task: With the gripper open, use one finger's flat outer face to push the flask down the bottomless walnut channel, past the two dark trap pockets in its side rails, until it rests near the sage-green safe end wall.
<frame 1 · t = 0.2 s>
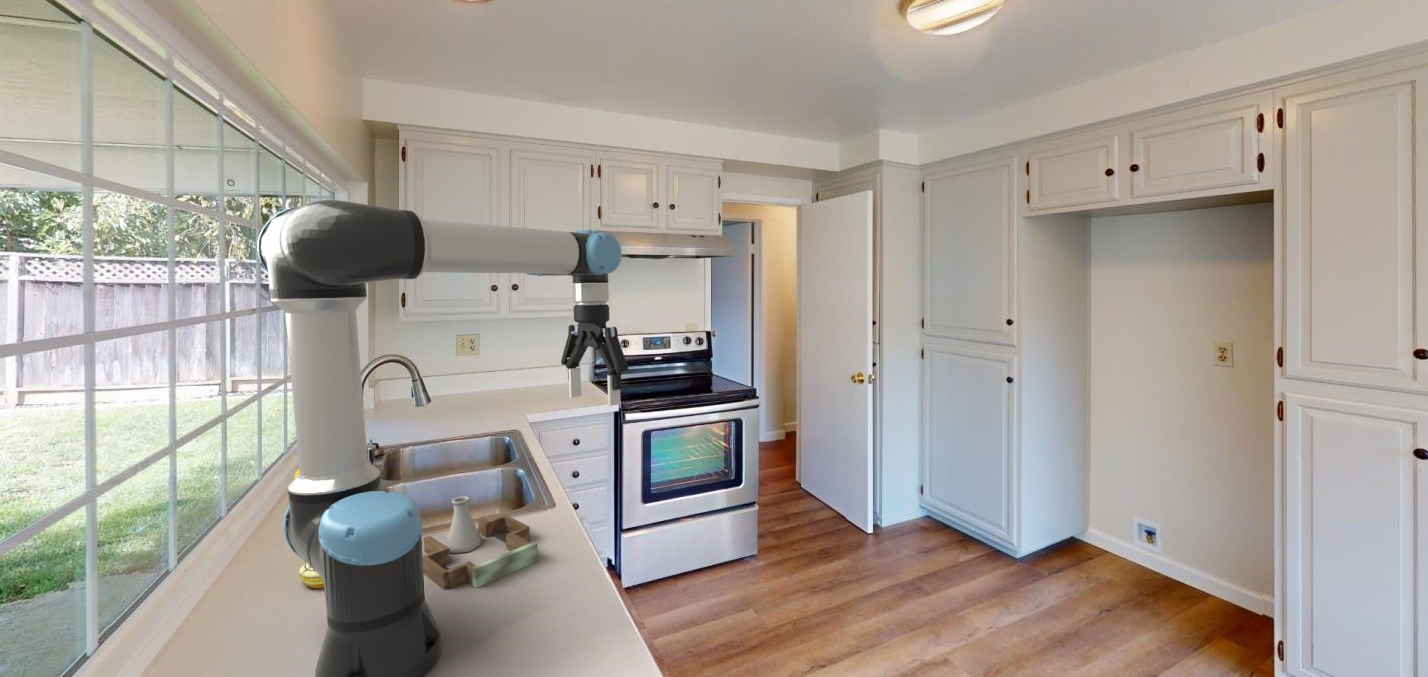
hand: (594, 400, 121), 28 cm above the counter, fingers open, 13 cm apart
decorated donut: (336, 577, 103), on the counter
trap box: (480, 556, 109), on the counter
flask: (463, 547, 114), on the counter
alarm clock: (326, 551, 112), on the counter
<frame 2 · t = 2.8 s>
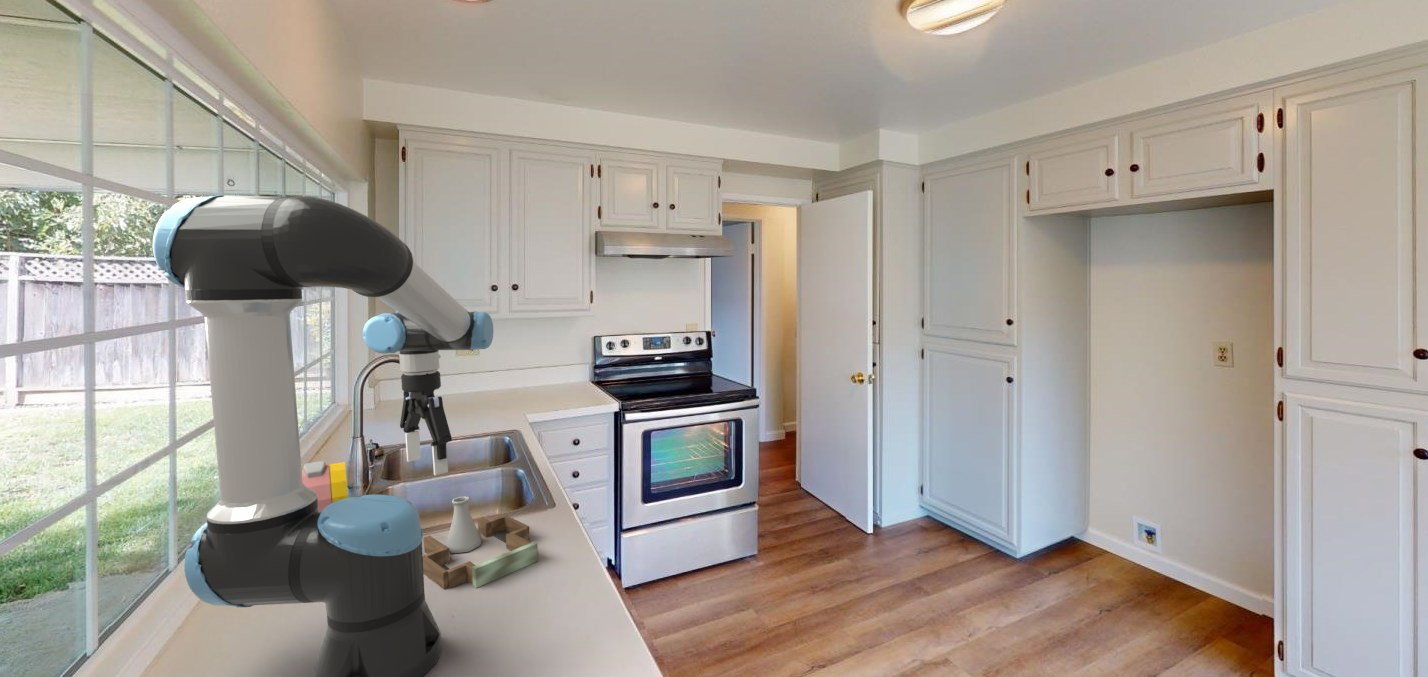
hand: (427, 466, 123), 13 cm above the counter, fingers open, 13 cm apart
nothing on the counter moved.
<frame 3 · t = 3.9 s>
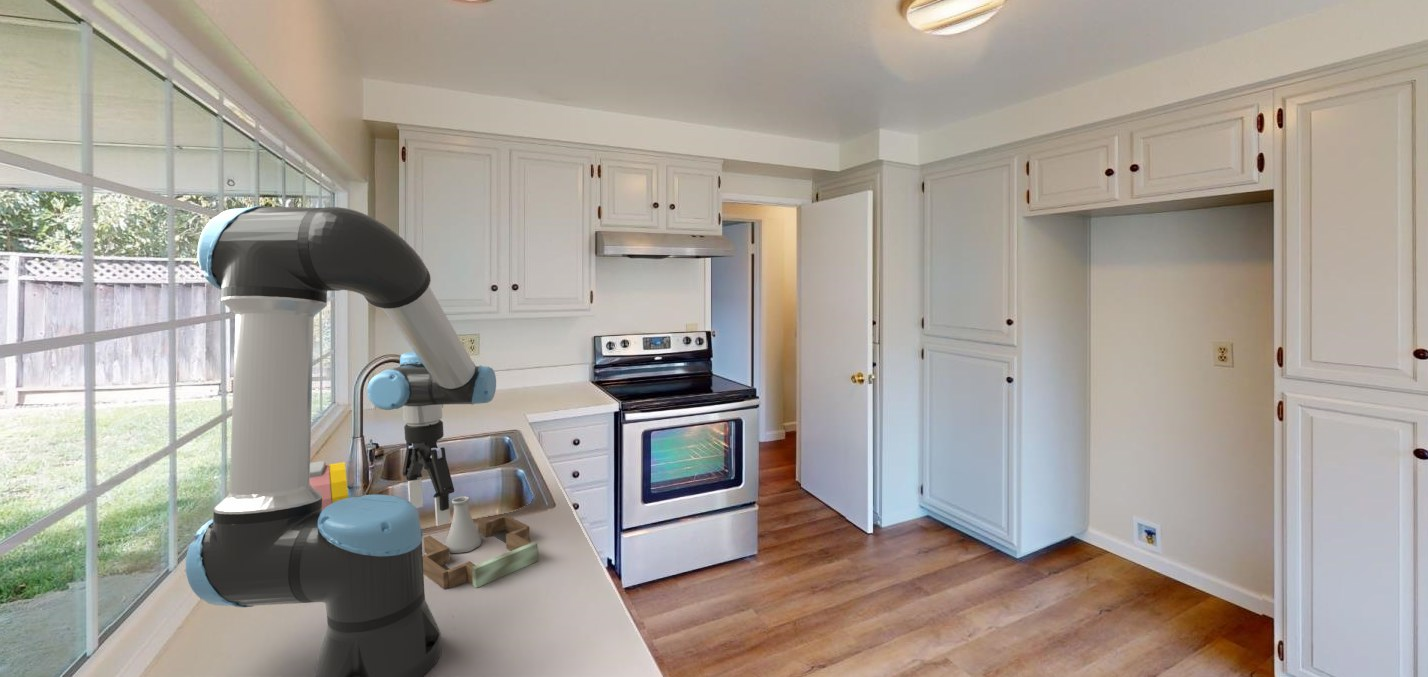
hand: (429, 515, 123), 2 cm above the counter, fingers open, 13 cm apart
nothing on the counter moved.
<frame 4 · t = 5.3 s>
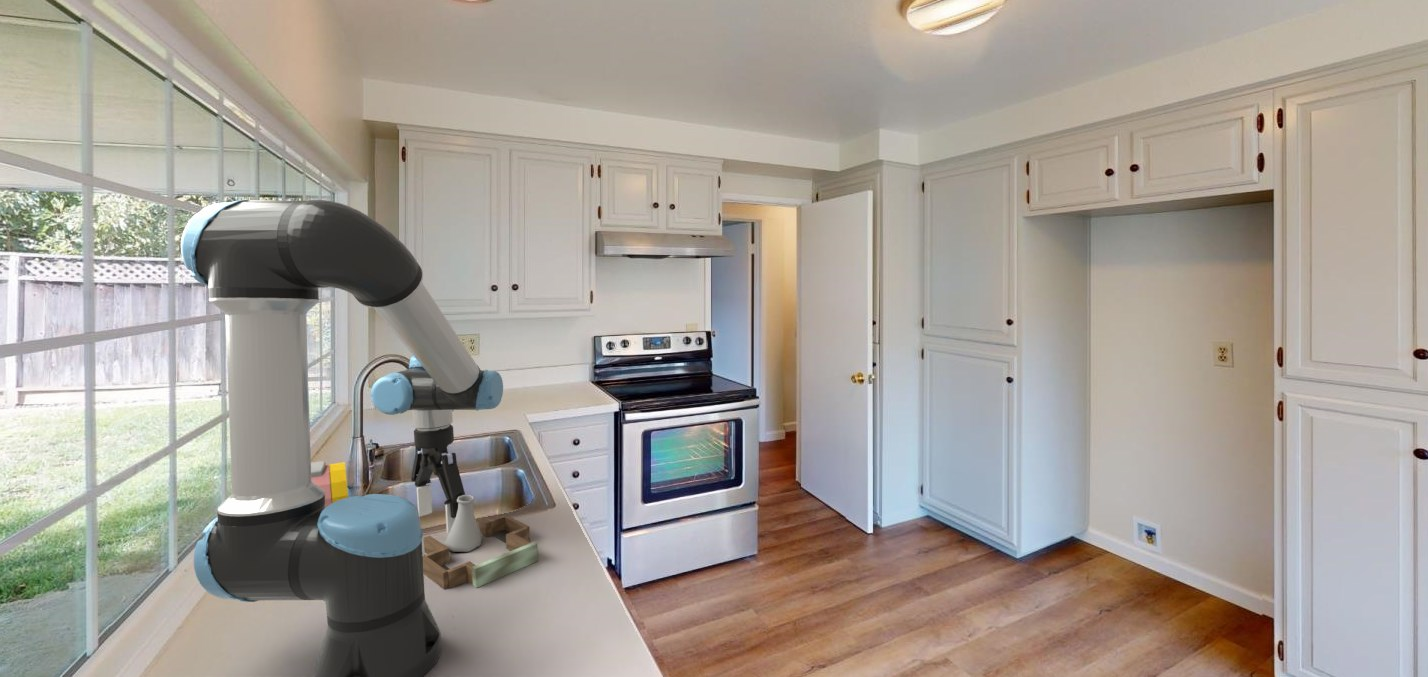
hand: (439, 522, 120), 2 cm above the counter, fingers open, 13 cm apart
flask: (463, 544, 114), on the counter, touching gripper, hand
everything else where it was.
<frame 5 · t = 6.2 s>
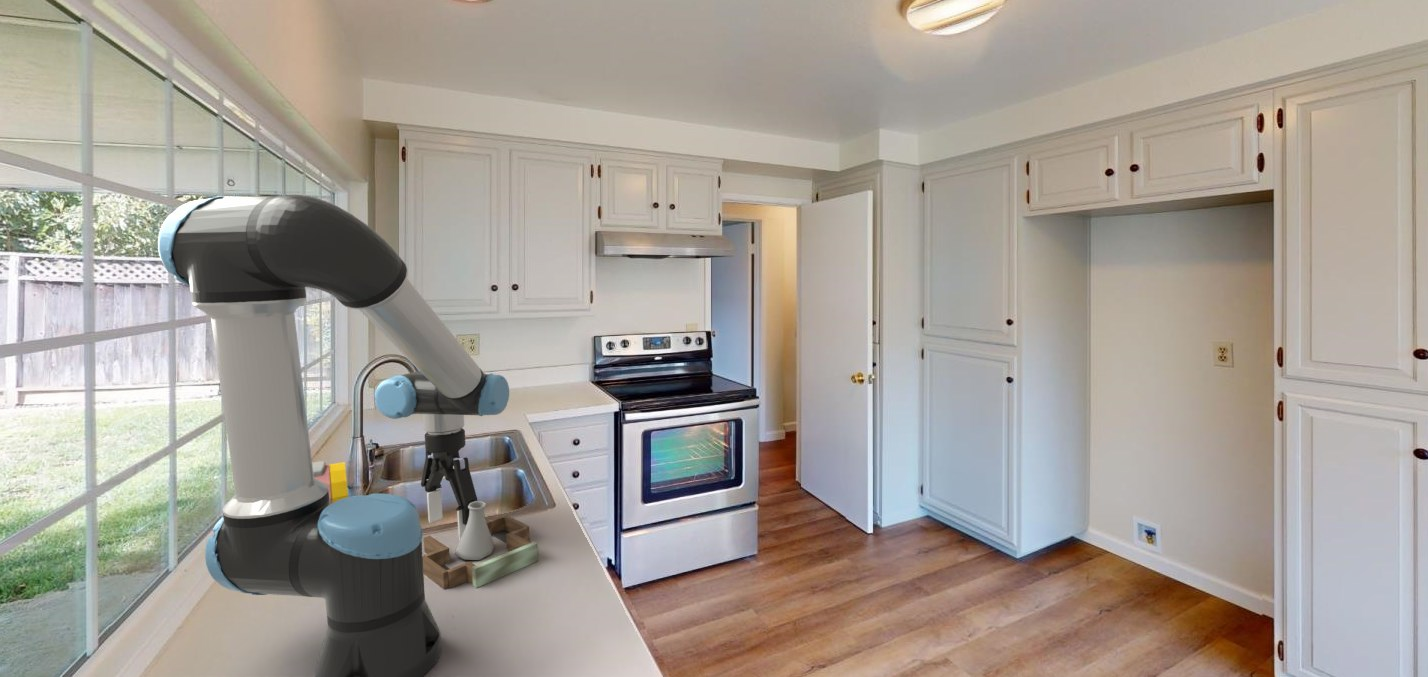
hand: (450, 529, 117), 2 cm above the counter, fingers open, 13 cm apart
flask: (474, 552, 110), on the counter, touching gripper
everything else where it was.
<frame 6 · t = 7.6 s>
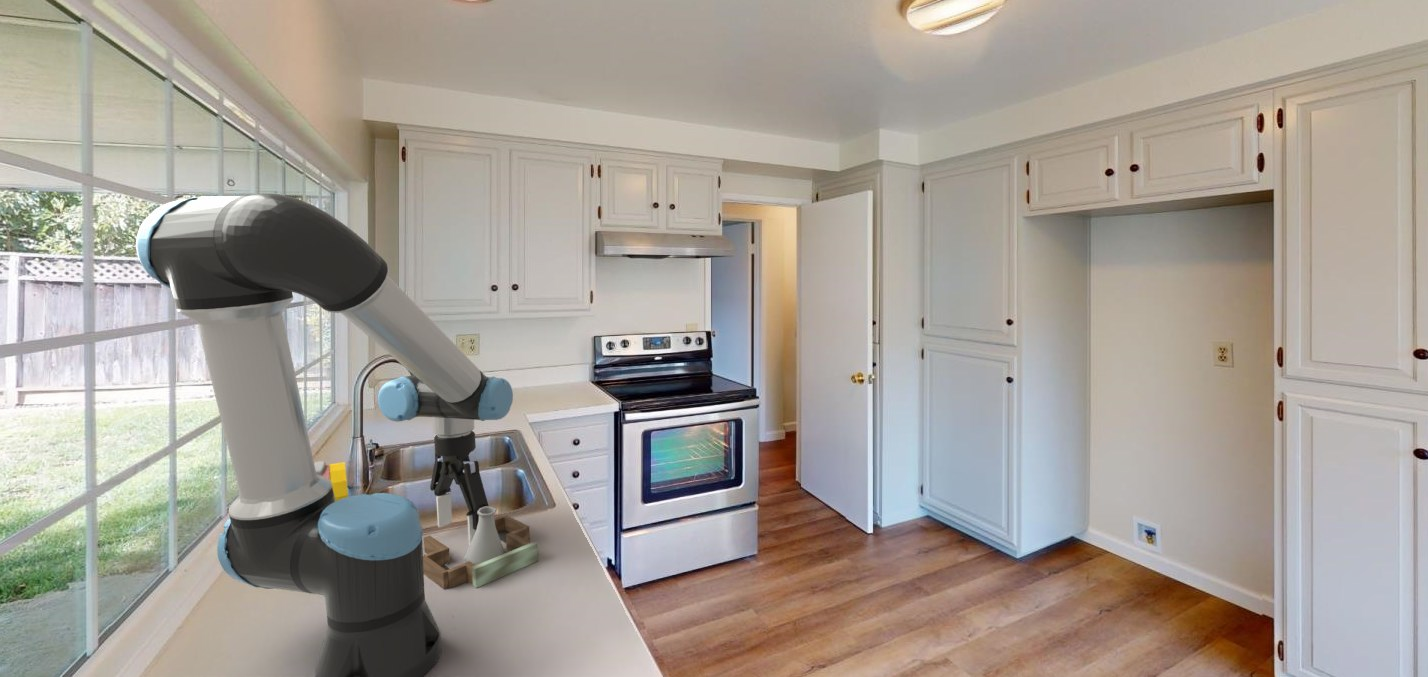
hand: (460, 533, 114), 2 cm above the counter, fingers open, 13 cm apart
flask: (484, 558, 108), on the counter, touching gripper
everything else where it was.
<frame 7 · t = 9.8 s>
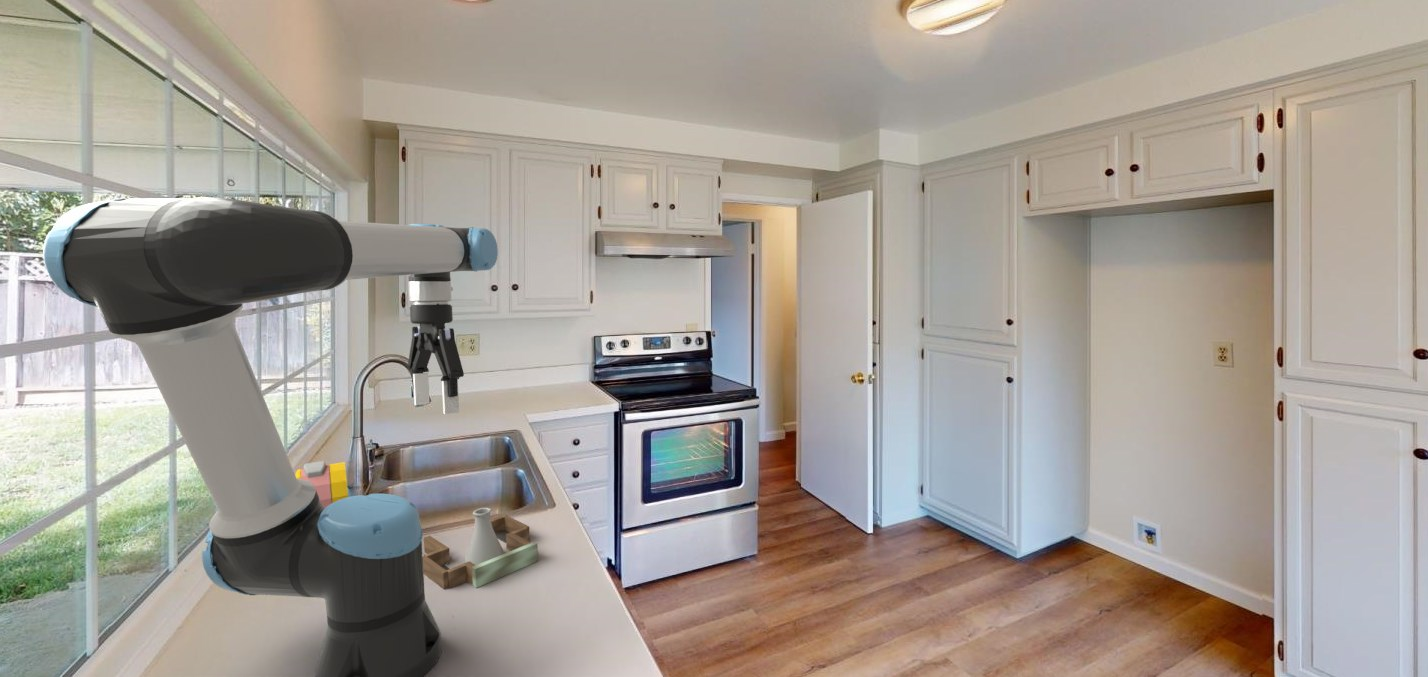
hand: (436, 408, 112), 28 cm above the counter, fingers open, 13 cm apart
flask: (484, 561, 108), on the counter
everything else where it was.
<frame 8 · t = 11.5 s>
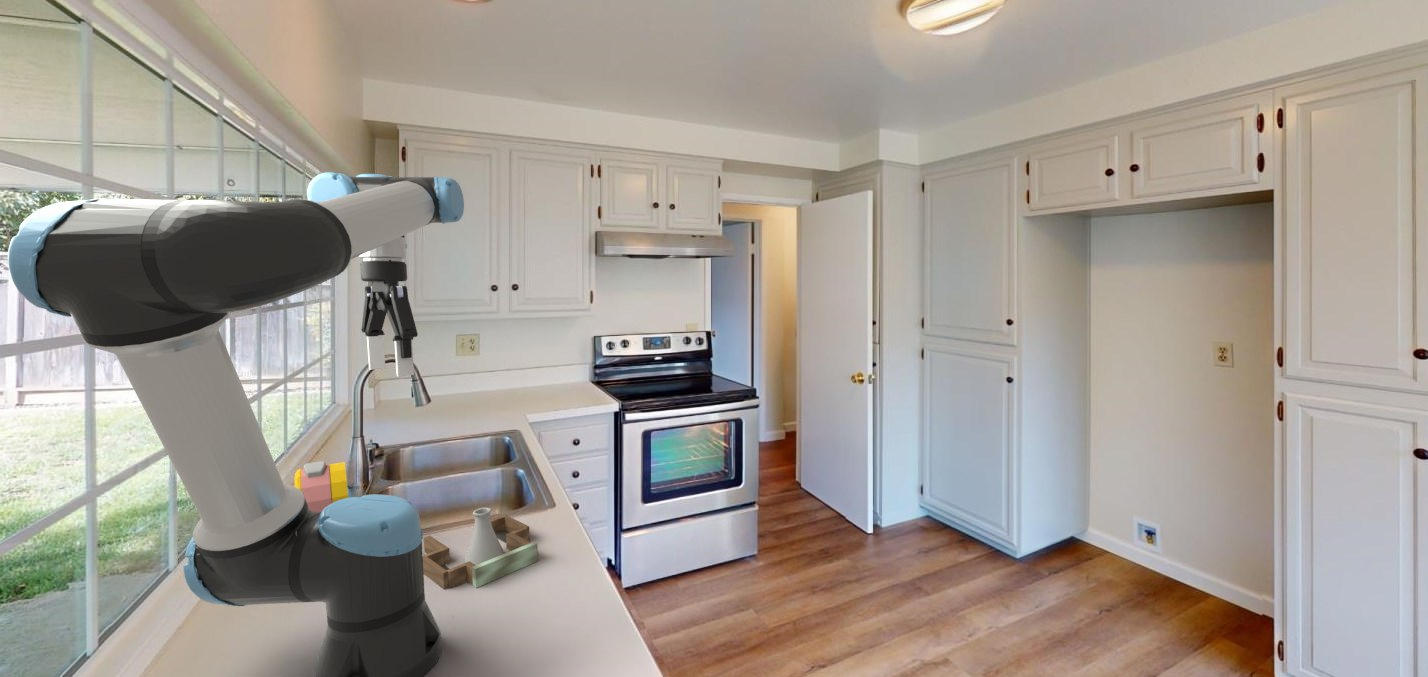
hand: (390, 372, 106), 37 cm above the counter, fingers open, 13 cm apart
nothing on the counter moved.
at the end: flask inside the target area (1.4 cm from its centre), on the counter; flask tilted 0° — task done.
